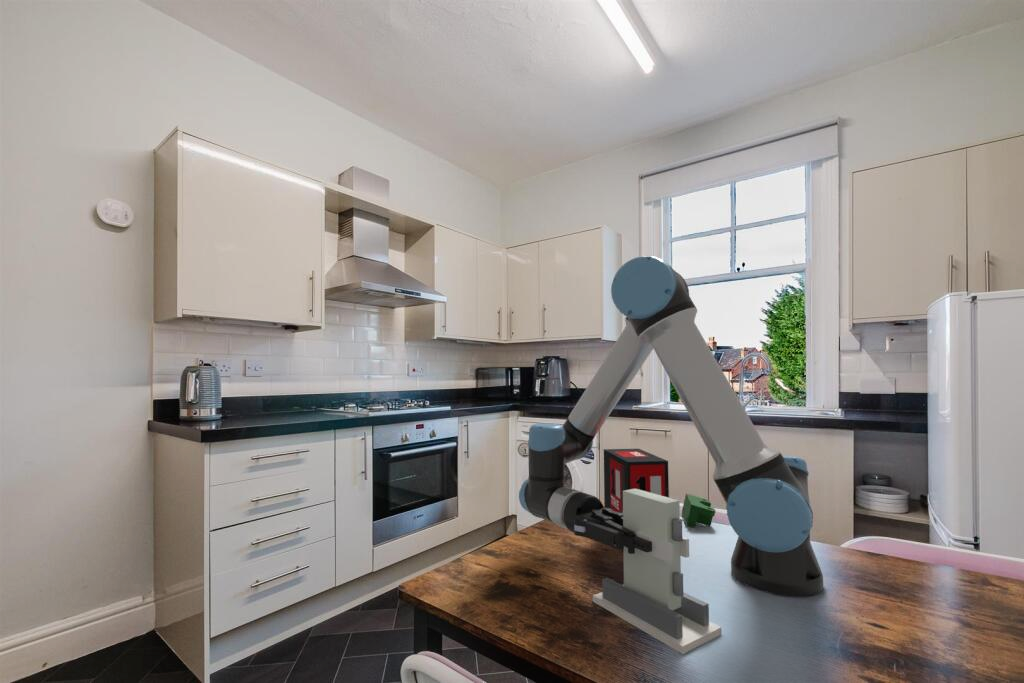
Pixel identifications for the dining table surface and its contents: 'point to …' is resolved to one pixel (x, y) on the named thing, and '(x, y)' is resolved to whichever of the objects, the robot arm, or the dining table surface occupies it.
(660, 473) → the cleaning product box
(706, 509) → the clamp
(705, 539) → the dining table surface
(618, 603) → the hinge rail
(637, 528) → the door
